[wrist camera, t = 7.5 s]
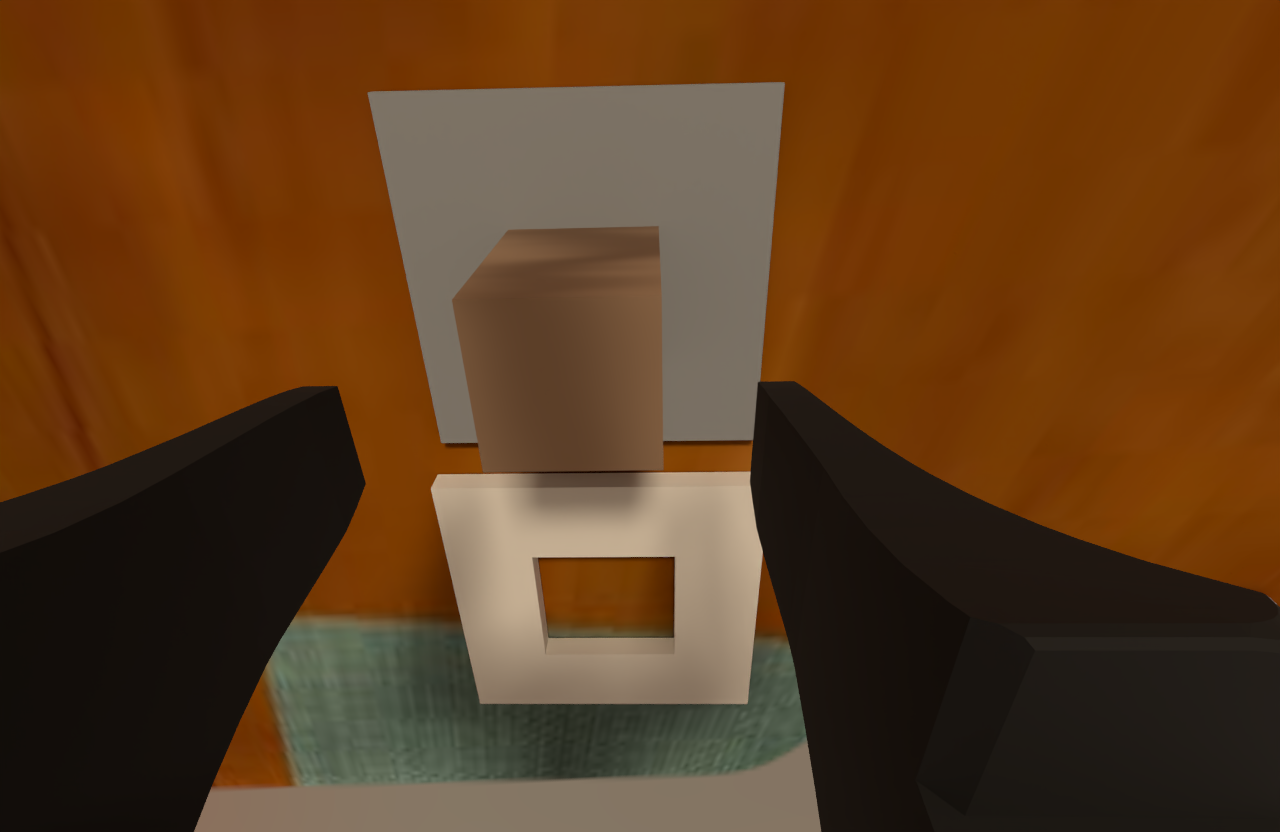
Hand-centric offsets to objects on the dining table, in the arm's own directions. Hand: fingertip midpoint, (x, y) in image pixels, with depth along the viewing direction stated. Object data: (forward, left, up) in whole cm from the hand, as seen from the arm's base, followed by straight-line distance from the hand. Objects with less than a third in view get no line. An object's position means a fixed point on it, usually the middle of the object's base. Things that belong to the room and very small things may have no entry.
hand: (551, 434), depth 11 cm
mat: (0, 0, -8) cm, 8 cm away
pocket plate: (0, +12, -8) cm, 14 cm away
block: (0, 0, -8) cm, 8 cm away
